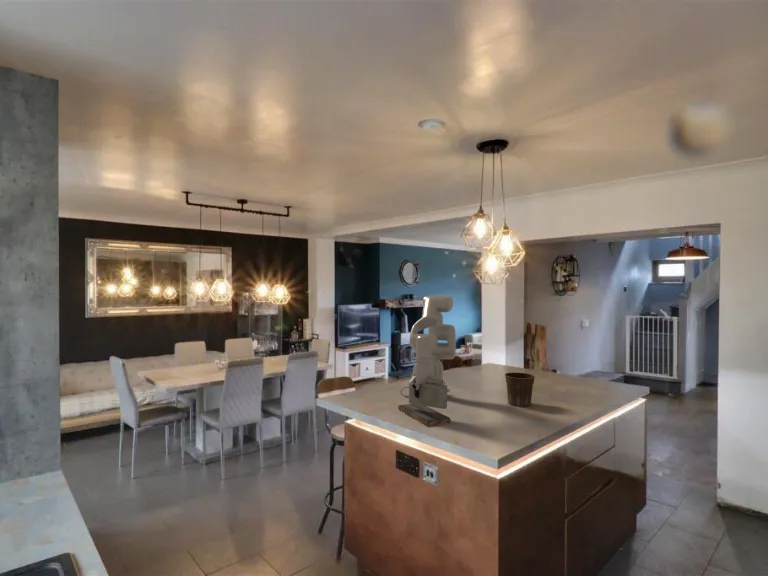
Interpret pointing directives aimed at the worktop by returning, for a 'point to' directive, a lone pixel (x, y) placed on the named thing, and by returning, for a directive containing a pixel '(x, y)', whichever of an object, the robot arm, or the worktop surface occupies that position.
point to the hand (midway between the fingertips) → (423, 396)
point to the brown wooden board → (424, 414)
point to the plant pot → (519, 388)
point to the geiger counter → (429, 394)
